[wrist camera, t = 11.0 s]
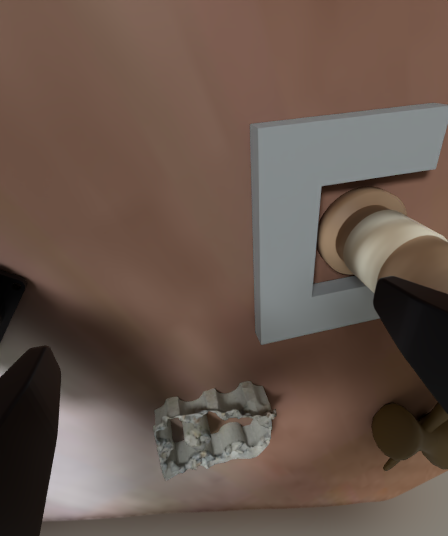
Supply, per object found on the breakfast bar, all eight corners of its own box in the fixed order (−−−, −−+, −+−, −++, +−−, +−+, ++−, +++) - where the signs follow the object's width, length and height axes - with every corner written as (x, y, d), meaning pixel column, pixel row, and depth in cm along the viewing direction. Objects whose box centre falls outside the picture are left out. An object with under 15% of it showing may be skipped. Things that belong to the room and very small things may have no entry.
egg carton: (266, 373, 31) (283, 411, 28) (260, 423, 35) (275, 461, 32) (150, 394, 29) (153, 438, 26) (157, 445, 33) (160, 489, 29)
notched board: (255, 332, 28) (261, 344, 26) (249, 123, 19) (258, 128, 18) (385, 303, 30) (396, 314, 28) (433, 102, 21) (452, 105, 20)
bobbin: (354, 278, 27) (497, 416, 17) (298, 245, 24) (427, 387, 14) (411, 212, 25) (617, 322, 14) (358, 168, 22) (565, 265, 12)
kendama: (505, 338, 38) (394, 450, 45) (455, 316, 34) (342, 442, 41) (562, 377, 33) (427, 498, 40) (511, 357, 29) (371, 494, 36)
